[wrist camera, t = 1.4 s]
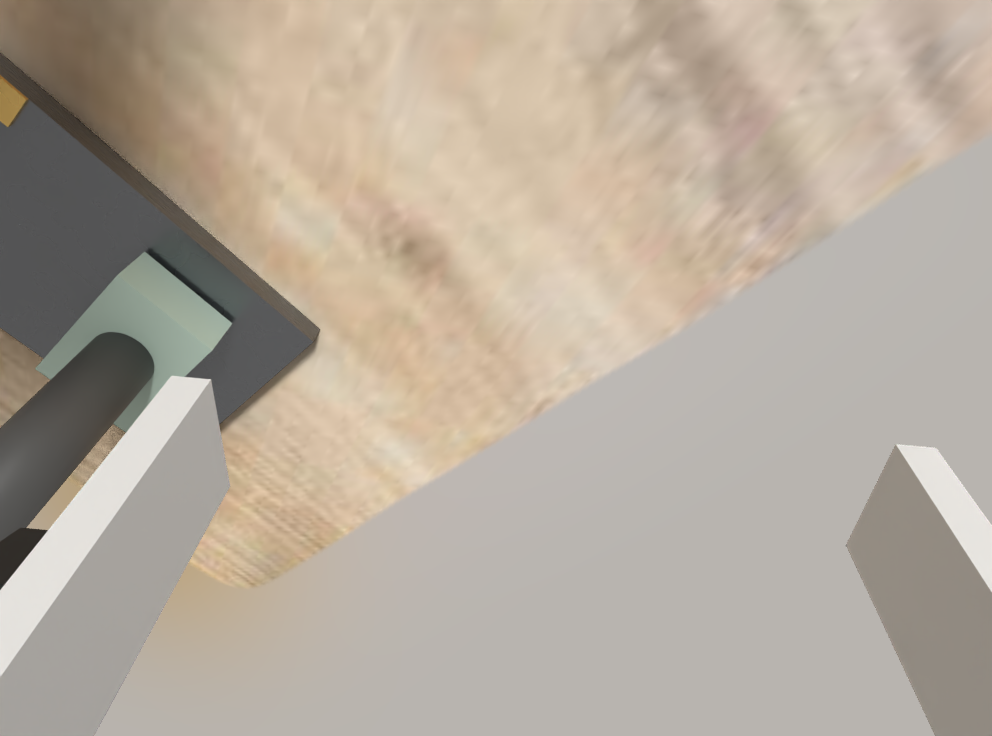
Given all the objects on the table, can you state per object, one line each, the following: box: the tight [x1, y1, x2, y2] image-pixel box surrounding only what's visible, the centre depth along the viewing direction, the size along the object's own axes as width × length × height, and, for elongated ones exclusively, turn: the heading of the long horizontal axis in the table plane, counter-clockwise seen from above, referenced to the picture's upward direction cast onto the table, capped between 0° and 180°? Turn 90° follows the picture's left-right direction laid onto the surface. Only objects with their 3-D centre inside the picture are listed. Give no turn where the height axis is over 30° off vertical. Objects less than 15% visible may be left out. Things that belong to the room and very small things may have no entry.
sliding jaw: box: [0, 252, 232, 541], centre depth 36 cm, size 6×9×16 cm, turn 132°
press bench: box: [0, 53, 320, 424], centre depth 38 cm, size 26×14×8 cm, turn 42°
